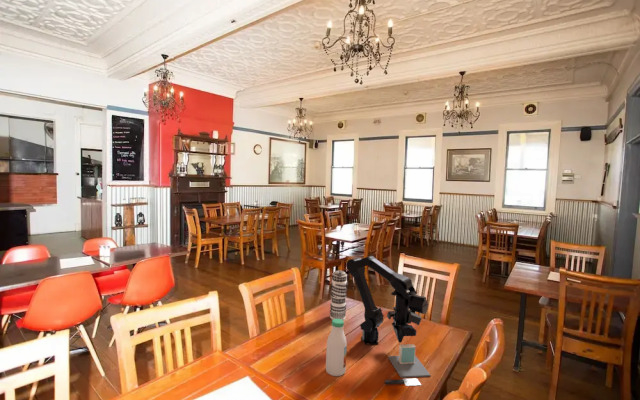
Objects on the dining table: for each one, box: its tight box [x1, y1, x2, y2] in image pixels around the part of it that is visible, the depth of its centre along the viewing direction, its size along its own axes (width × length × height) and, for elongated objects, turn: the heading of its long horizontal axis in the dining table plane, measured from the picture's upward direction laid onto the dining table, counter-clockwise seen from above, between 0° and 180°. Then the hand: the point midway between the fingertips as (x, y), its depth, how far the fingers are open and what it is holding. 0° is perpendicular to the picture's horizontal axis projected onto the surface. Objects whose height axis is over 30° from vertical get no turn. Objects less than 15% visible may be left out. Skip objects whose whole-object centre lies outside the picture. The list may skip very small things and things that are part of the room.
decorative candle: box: [329, 270, 349, 321], centre depth 174 cm, size 9×9×25 cm
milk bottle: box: [325, 319, 348, 377], centre depth 126 cm, size 8×8×20 cm
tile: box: [398, 343, 416, 364], centre depth 133 cm, size 6×2×7 cm, turn 98°
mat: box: [387, 354, 431, 379], centre depth 131 cm, size 12×14×1 cm
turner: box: [384, 377, 422, 387], centre depth 120 cm, size 13×4×1 cm, turn 98°
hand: (399, 342), depth 141 cm, fingers closed
